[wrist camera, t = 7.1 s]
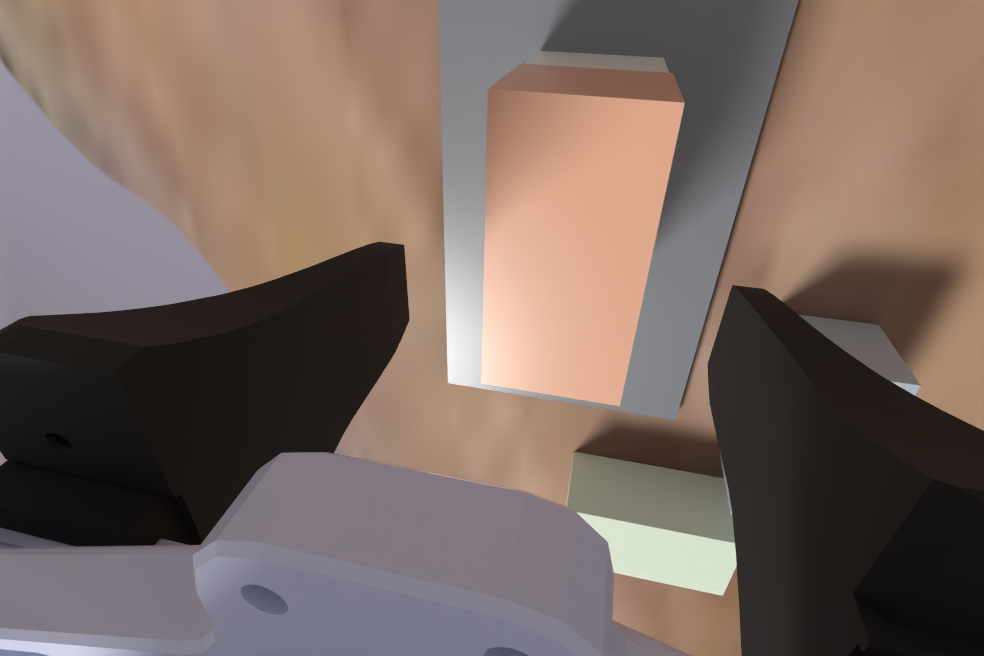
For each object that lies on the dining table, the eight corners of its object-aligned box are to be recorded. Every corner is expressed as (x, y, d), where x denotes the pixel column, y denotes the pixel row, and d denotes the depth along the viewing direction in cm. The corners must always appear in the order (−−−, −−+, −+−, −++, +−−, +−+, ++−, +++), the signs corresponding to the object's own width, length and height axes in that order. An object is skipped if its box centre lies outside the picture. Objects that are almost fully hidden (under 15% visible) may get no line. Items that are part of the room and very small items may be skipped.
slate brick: (769, 308, 22) (792, 367, 19) (877, 322, 21) (921, 385, 18) (718, 447, 26) (730, 514, 23) (806, 462, 26) (831, 533, 22)
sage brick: (566, 498, 31) (558, 560, 27) (574, 448, 28) (566, 510, 25) (712, 526, 29) (722, 595, 26) (732, 477, 27) (746, 545, 24)
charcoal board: (438, -238, 15) (432, -245, 15) (866, -254, 13) (875, -262, 13) (451, 375, 27) (447, 383, 27) (674, 411, 25) (675, 420, 25)
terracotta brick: (520, 63, 14) (487, 88, 11) (672, 73, 14) (685, 102, 11) (507, 313, 19) (481, 383, 16) (622, 329, 18) (619, 406, 15)
